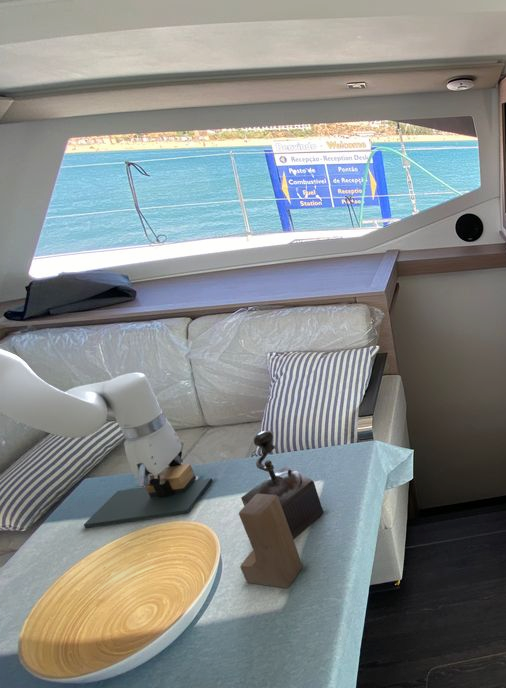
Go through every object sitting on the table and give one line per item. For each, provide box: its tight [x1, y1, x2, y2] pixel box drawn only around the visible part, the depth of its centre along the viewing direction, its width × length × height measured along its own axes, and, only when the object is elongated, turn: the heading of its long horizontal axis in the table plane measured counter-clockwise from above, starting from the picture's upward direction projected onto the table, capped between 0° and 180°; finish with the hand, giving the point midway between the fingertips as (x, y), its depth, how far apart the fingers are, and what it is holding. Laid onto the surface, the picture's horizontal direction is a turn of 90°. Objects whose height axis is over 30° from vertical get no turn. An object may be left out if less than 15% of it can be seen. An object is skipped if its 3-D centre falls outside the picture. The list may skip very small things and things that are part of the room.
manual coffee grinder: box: [240, 430, 325, 540], centre depth 88 cm, size 16×11×18 cm
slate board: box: [83, 477, 214, 529], centre depth 98 cm, size 22×10×1 cm, turn 97°
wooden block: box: [238, 494, 303, 589], centre depth 75 cm, size 9×4×18 cm, turn 80°
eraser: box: [144, 463, 197, 497], centre depth 100 cm, size 8×4×4 cm, turn 97°
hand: (173, 486), depth 101 cm, fingers closed on eraser, 4 cm apart
